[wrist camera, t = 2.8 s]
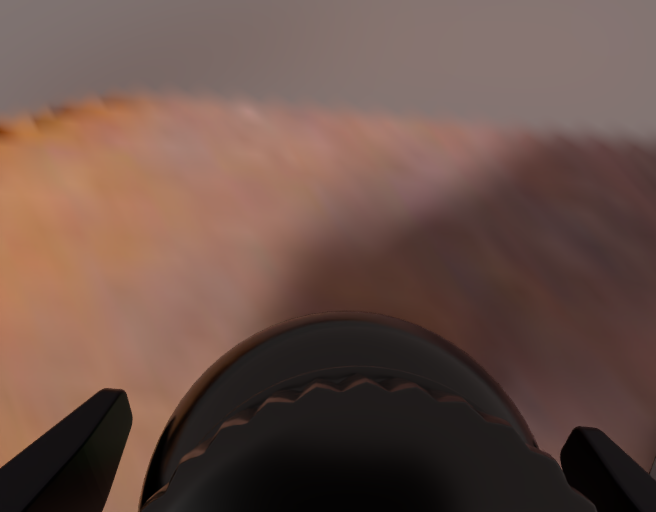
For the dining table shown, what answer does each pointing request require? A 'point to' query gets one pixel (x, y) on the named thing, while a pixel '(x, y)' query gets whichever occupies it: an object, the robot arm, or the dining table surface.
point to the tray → (653, 470)
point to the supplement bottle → (351, 429)
